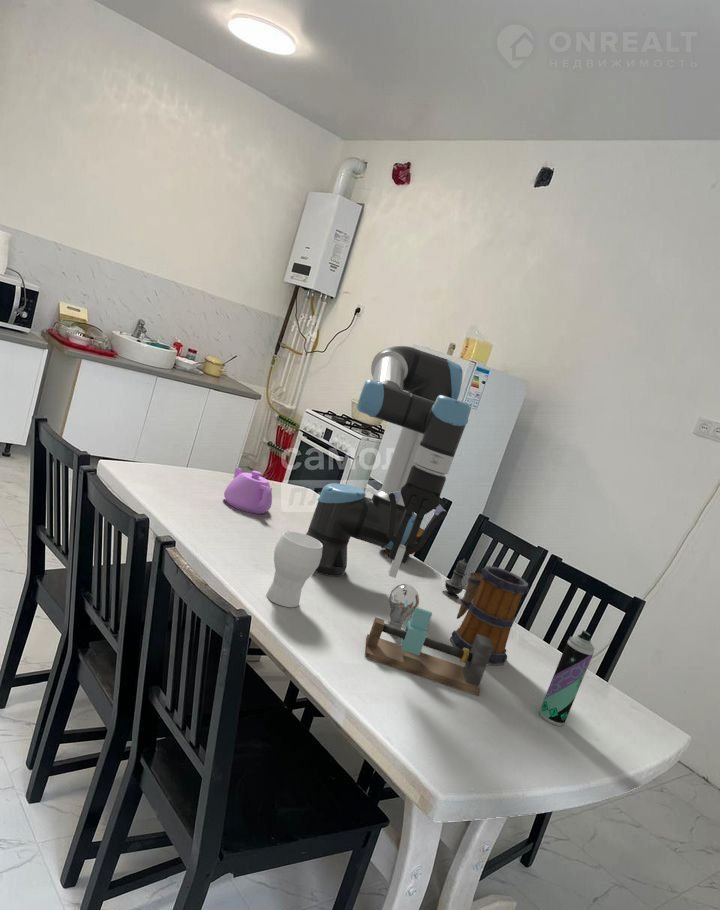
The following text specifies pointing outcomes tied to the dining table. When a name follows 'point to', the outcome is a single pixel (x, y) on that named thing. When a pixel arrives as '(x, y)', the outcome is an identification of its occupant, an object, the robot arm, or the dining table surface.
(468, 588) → the mug
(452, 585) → the salt shaker
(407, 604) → the light bulb
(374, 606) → the dining table surface
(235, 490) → the teapot
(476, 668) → the wooden axle stand
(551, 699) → the spray can
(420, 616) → the sleeve
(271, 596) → the cup
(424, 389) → the robot arm
